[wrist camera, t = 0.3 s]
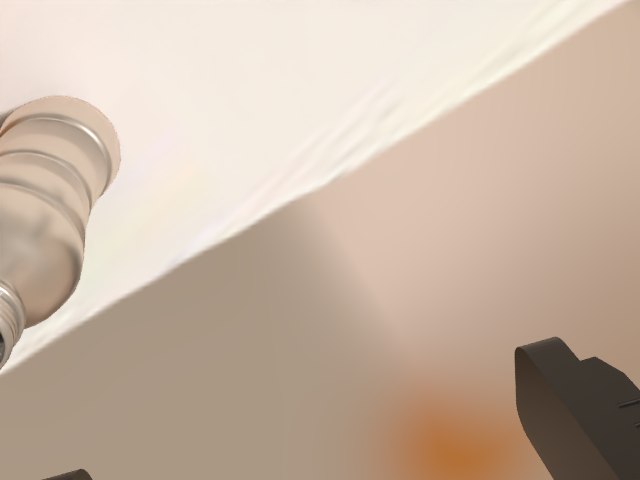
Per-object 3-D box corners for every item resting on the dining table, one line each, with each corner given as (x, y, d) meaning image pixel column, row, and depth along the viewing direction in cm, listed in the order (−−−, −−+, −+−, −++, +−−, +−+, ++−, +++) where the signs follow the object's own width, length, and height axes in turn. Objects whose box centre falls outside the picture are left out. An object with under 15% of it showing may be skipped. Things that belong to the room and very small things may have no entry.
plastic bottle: (140, 171, 38) (90, 387, 21) (37, 196, 38) (-100, 438, 20) (103, 74, 35) (7, 237, 18) (-11, 101, 34) (-222, 293, 17)
